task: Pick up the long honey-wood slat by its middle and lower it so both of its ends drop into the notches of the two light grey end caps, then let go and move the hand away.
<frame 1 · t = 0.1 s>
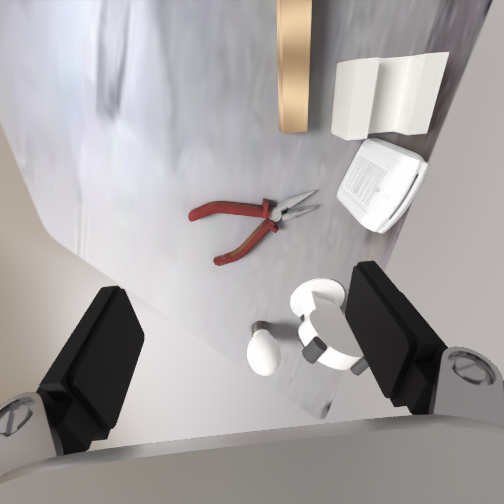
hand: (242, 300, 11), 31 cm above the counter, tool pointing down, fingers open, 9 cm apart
photo printer: (358, 171, 40), on the counter
light bulb: (260, 326, 58), on the counter
pliers: (253, 226, 45), on the counter
panda figurine: (315, 298, 54), on the counter
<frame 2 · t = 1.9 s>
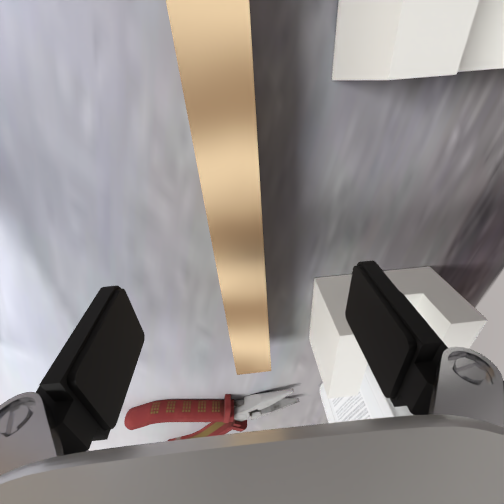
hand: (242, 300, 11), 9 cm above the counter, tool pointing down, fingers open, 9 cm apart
photo printer: (348, 365, 30), on the counter
end caps: (391, 193, 18), on the counter
slat: (235, 206, 18), on the counter
pliers: (215, 410, 34), on the counter
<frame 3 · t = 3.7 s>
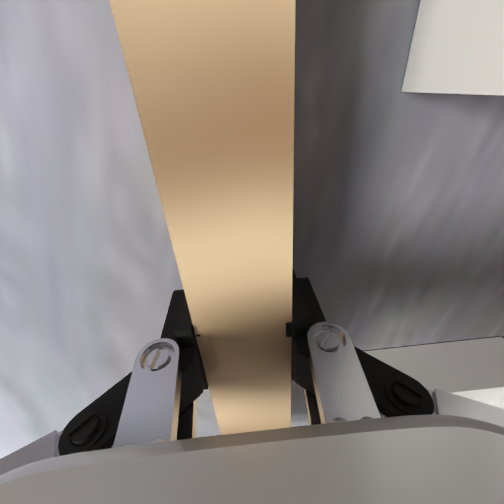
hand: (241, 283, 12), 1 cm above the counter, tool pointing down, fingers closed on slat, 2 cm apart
end caps: (466, 252, 13), on the counter
slat: (241, 280, 12), on the counter, touching gripper
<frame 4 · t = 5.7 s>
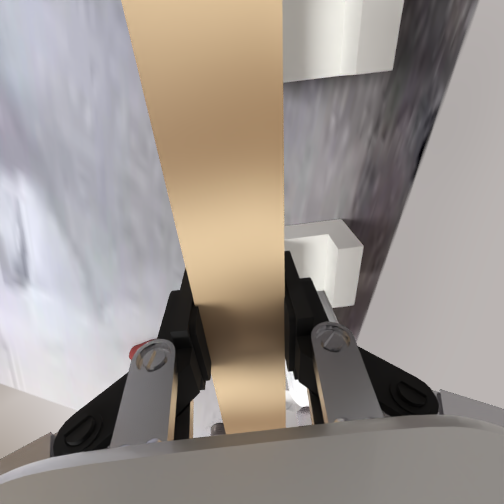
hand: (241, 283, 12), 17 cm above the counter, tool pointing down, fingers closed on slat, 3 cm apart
photo printer: (298, 308, 38), on the counter
light bulb: (220, 426, 56), on the counter
end caps: (298, 162, 26), on the counter
slat: (240, 270, 13), point 16 cm above the counter, touching gripper
panda figurine: (274, 402, 52), on the counter
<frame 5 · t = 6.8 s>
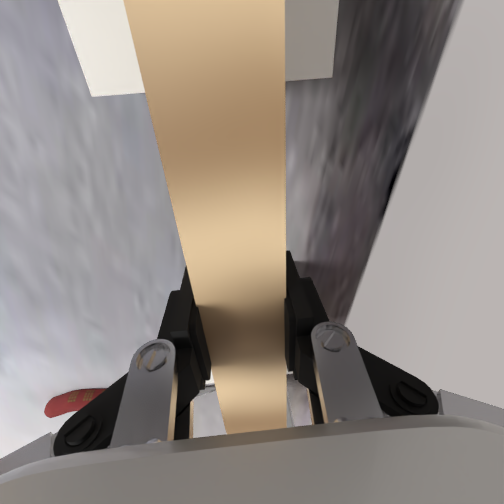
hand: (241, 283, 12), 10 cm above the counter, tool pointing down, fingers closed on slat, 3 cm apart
end caps: (230, 193, 20), on the counter
slat: (241, 271, 13), point 9 cm above the counter, touching gripper
pliers: (141, 400, 36), on the counter
when the fingers open (5 cm above the counter, at t = 7.8 s): slat stays where it is, resting on end caps.
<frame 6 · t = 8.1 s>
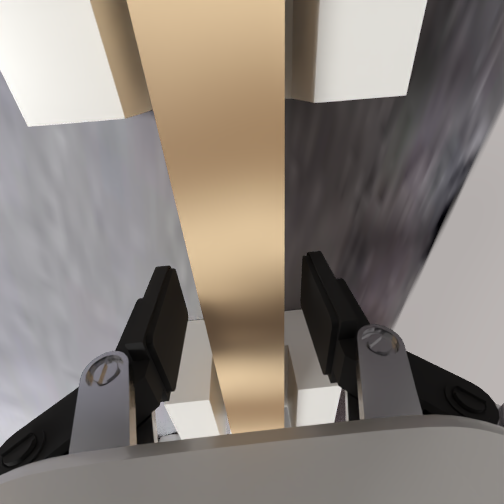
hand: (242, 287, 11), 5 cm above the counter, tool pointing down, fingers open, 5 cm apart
end caps: (238, 233, 16), on the counter
slat: (241, 265, 13), point 3 cm above the counter, touching end caps
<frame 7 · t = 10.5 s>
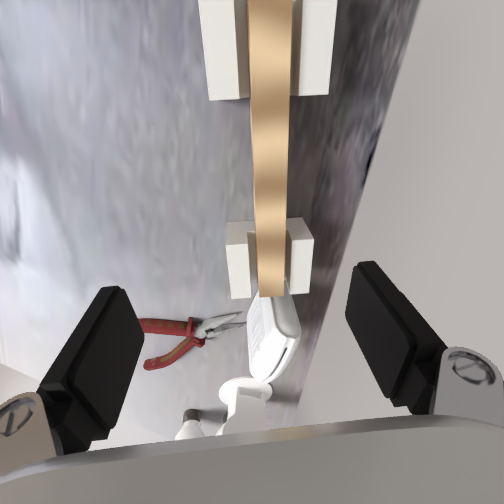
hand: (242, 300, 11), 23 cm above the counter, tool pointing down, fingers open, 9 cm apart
photo printer: (265, 298, 42), on the counter
light bulb: (193, 412, 59), on the counter
end caps: (263, 165, 30), on the counter
slat: (266, 174, 28), point 3 cm above the counter, touching end caps
pliers: (182, 335, 46), on the counter
panda figurine: (244, 390, 55), on the counter
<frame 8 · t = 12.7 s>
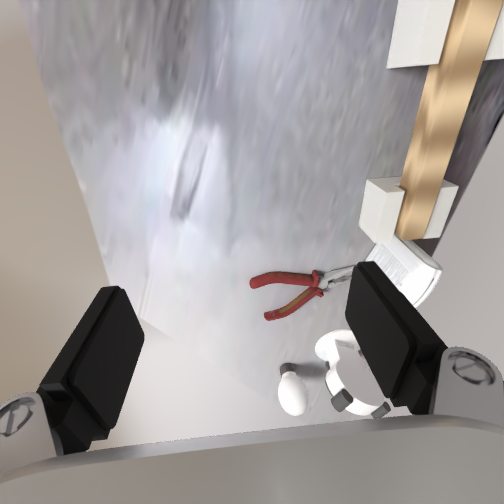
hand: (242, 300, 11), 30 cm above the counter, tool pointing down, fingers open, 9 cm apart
photo printer: (379, 251, 48), on the counter
light bulb: (287, 367, 65), on the counter
end caps: (410, 126, 36), on the counter
slat: (423, 131, 34), point 3 cm above the counter, touching end caps
pliers: (300, 288, 52), on the counter
panda figurine: (337, 344, 62), on the counter
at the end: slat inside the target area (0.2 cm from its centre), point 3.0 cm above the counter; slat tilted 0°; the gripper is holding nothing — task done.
